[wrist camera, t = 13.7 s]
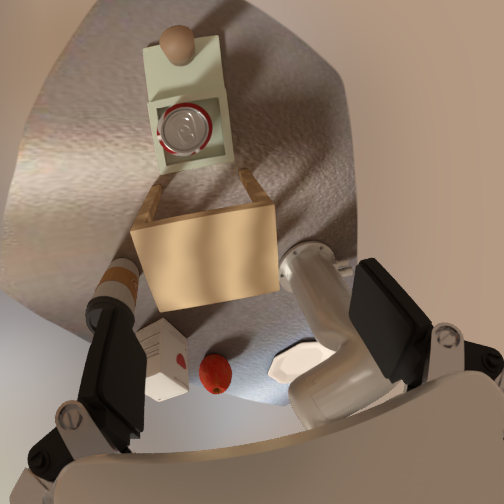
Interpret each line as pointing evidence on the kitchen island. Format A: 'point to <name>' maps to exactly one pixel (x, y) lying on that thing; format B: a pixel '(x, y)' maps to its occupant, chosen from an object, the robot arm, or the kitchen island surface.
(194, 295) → the wooden stool
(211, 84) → the tan cylinder on base
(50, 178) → the kitchen island surface
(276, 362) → the plate
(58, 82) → the kitchen island surface
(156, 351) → the supplement box
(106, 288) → the coffee cup
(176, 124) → the soda can
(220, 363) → the apple
